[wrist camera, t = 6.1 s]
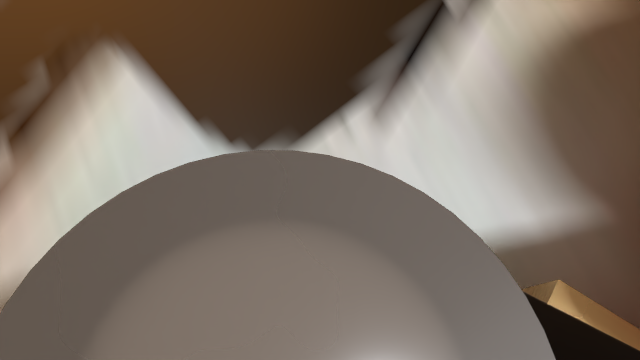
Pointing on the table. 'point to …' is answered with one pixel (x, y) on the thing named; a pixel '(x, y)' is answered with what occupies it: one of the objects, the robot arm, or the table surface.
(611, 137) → the table surface
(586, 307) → the open tan box
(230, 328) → the sleeve
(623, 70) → the table surface
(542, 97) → the table surface
